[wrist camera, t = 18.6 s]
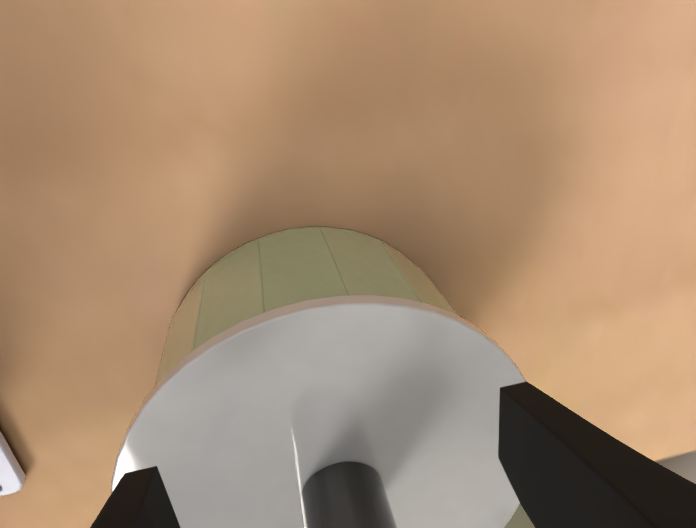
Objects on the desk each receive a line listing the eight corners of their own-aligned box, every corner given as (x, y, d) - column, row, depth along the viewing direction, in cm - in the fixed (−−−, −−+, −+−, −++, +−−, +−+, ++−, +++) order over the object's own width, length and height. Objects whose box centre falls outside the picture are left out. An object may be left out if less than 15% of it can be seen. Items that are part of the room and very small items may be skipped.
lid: (184, 634, 17) (167, 819, 13) (49, 338, 12) (-51, 494, 8) (516, 541, 19) (593, 681, 14) (527, 243, 13) (652, 331, 9)
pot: (207, 485, 22) (195, 641, 16) (128, 258, 17) (72, 366, 12) (446, 427, 23) (512, 551, 18) (435, 201, 19) (522, 273, 13)
